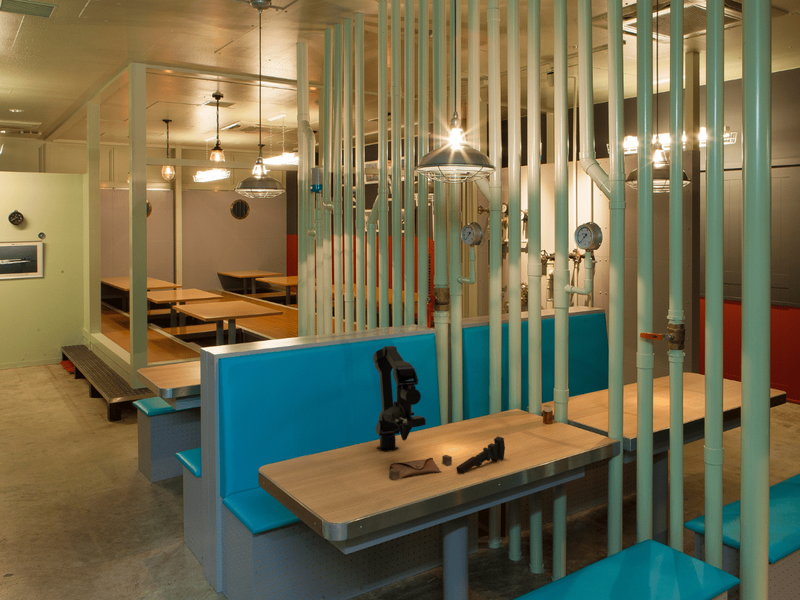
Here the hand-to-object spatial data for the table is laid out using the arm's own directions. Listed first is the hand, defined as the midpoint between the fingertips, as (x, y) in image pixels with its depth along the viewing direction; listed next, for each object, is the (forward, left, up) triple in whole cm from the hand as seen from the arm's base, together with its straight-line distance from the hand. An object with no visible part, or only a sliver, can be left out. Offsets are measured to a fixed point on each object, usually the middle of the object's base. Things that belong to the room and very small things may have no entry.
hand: (404, 440), depth 242 cm
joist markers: (+9, 0, -9) cm, 13 cm away
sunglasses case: (+9, -2, -10) cm, 14 cm away
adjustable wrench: (+18, +22, -10) cm, 30 cm away
